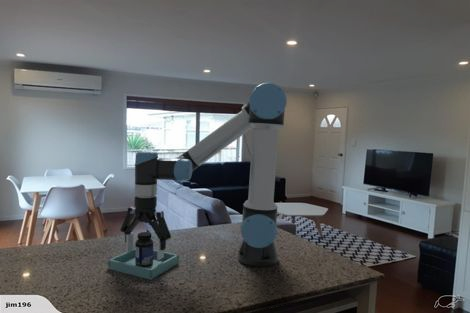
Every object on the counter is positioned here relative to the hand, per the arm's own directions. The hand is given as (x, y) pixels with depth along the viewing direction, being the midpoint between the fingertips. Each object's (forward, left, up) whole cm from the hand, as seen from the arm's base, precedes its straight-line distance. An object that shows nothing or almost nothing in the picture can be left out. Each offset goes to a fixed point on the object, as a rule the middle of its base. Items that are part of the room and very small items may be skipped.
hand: (144, 255), depth 122 cm
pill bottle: (0, 0, -4) cm, 4 cm away
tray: (0, 0, -4) cm, 4 cm away
